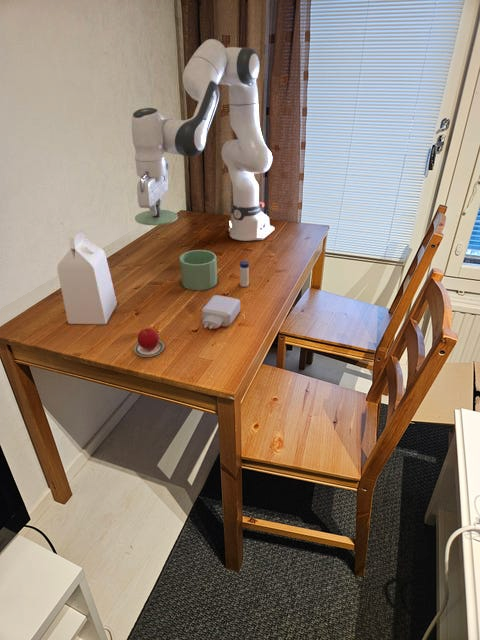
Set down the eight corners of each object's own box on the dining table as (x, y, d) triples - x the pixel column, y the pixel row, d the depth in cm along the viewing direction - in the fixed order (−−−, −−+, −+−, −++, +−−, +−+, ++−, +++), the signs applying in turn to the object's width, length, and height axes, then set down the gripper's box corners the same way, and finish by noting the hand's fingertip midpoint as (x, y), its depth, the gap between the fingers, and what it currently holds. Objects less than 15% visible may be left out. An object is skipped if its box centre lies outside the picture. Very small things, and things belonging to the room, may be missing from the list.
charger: (193, 332, 120) (213, 307, 132) (222, 338, 117) (240, 312, 129) (192, 318, 117) (212, 294, 129) (222, 324, 115) (240, 299, 127)
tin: (198, 270, 154) (196, 247, 149) (224, 280, 148) (223, 255, 142) (174, 283, 146) (171, 258, 140) (200, 293, 139) (199, 268, 134)
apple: (128, 354, 111) (125, 334, 108) (144, 338, 117) (141, 319, 114) (154, 360, 109) (151, 341, 105) (169, 344, 115) (167, 324, 111)
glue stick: (243, 281, 147) (243, 259, 142) (250, 284, 145) (250, 262, 140) (238, 285, 144) (238, 263, 140) (245, 287, 143) (245, 265, 138)
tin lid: (157, 210, 142) (156, 196, 139) (186, 218, 135) (185, 204, 132) (126, 221, 132) (124, 206, 130) (155, 230, 126) (153, 215, 123)
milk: (82, 303, 134) (63, 226, 120) (117, 303, 134) (102, 226, 120) (68, 323, 124) (46, 242, 110) (105, 324, 124) (88, 242, 109)
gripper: (150, 177, 116) (155, 224, 123) (170, 161, 133) (173, 204, 140) (129, 176, 117) (135, 223, 124) (151, 161, 134) (156, 203, 141)
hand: (156, 213), depth 132 cm, fingers closed on tin lid, 2 cm apart
